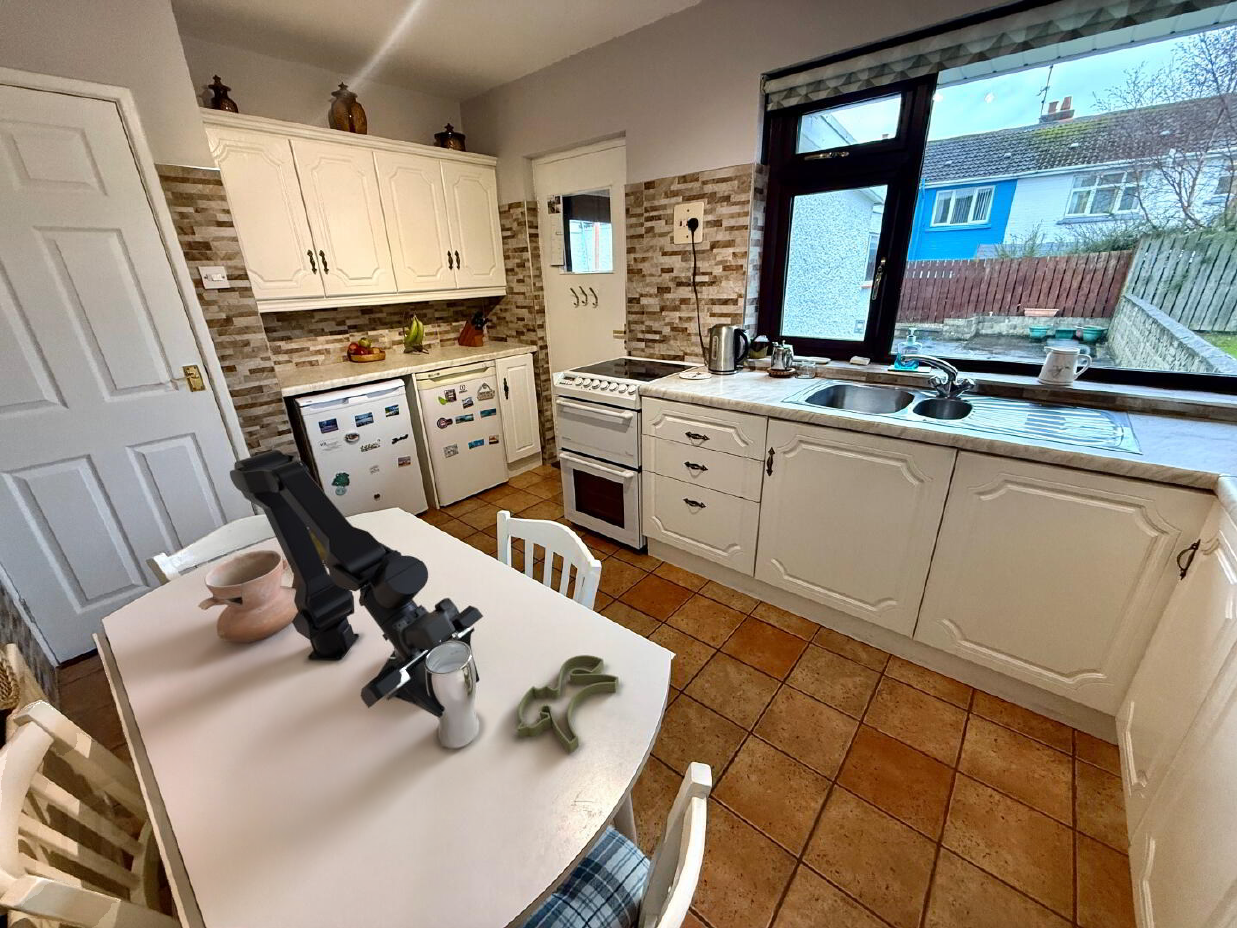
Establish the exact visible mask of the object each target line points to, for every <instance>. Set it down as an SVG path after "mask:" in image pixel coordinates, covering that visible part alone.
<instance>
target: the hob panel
mask: <svg viewBox="0 0 1237 928" xmlns="http://www.w3.org/2000/svg"><path fill="white" fill-rule="evenodd" d="M447 642H448V641H447ZM427 652H428V651H427ZM427 652H426V653H427ZM422 656H423V655H422ZM391 665H393V666H394V667H397V666H398V662H397V658H396V654H395V651H394V650H393V651H392V653H391V654H390V656H388V657H387V660H386V662H385V663H384V665H383V666H382V667H381V669H380V670H379V672H378V674H377V675H376V676H378V675H379V674H380V673H382V672H383V671H384V670H385V669H387V668H388V667H389V666H391ZM408 675H409V676H410V677H411V678H412V677H413V676H414V675H416V676H417V679H418V681H419V684H420V686H421V687H422V688H423V689H424V690H425V692H426V693H427V694H428V692H427V688H426V682H425V669H424V660H423V661H422V662H421V663H420V664H418V665H417V666H416V667H415V668H413V669H412V670H411V671H410V672H408Z"/></svg>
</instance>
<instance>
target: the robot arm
mask: <svg viewBox="0 0 1237 928" xmlns="http://www.w3.org/2000/svg"><path fill="white" fill-rule="evenodd" d="M233 467H234V469H232V470H229V477H230V481H231V482H232V484H233V485H234V487H235V488H236V489H237V490H238V491H239V492H241V494H242V495H243V497H244V498H245V499H246V500H247V501H249V502H251V503H252V504H254V505H256V506H257V507H259V508H261V509H262V510H263V513H264V514H265V516H266V518H267V521H268V523H269V524H270V527H271V529H272V531H273V534H274V536H275V537H276V540H277V542H278V544H279V546H280V548H281V551H282V552H283V555H284V557H285V560H286V559H287V561H288V563H289V565H290V566H289V567H290V569H291V572H292V573H293V577H294V576H295V578H296V580H297V583H298V585H297V589H296V594H295V598H294V602H295V605H296V608H297V610H298V612H297V614H296V615H295V617H294V619H293V621H292V623H291V624H292V625H293V627H294V629H295V631H296V632H297V633H298V634H300V635H301V636H302V637H305V638H306V639H307V640H308V641H309V642H310V645H311V647H312V651H311V652H310V653H309V654H308V655H307V658H308V659H309V660H315V661H337V662H339V661H341V660H342V659H344V658H345V656H346V654H348V652H349V651H350V649H351V648H352V647H353V645H354V644H355V643H356V642H357V641H358V639H359V638H360V634H359V633H354V630H353V626H352V624H350V622H349V619H348V618H349V616H351V615H353V614H355V596H354V594H353V592H355V593H356V592H357V591H359V598H358V602H359V606H360V607H364V608H365V609H366V611H367V613H368V614H369V615H370V616H371V617H372V619H373V620H374V621H375V623H376V624H377V625H378V627H379V628H380V630H381V631H382V632H383V634H382V638H383V639H384V641H386V642H387V641H389V642H390V643H391V644H392V646H393V648H394V647H395V649H396V650H397V651H398V653H399V654H400V655H401V656H400V657H398V658H399V659H400V661H401V662H402V663H401V664H399V665H398V666H397V667H394V666H393V665H391V666H389V667H388V668H387V669H385V670H384V671H383V672H382V673H380V674H379V673H378V674H379V675H378V674H377V675H378V676H377V675H376V676H375V677H374V678H372V679H371V680H369V682H368V683H367V684H365V685H364V686H363V687H362V688H361V690H360V698H361V700H362V701H363V703H364V704H365V706H366V707H367V708H368V709H370V708H371V707H373V706H374V705H375V704H376V703H377V702H380V700H382V699H383V698H384V697H385V696H386V695H388V696H386V697H385V699H386V700H387V701H390V700H391V699H393V698H396V699H399V700H401V701H404V702H406V703H409V704H412V705H414V706H416V707H418V708H420V709H422V710H423V711H426V712H427V713H429V714H431V715H433V716H434V717H436V718H437V719H438V718H439V717H441V716H442V715H443V713H442V712H441V710H440V709H439V707H438V706H437V704H436V703H435V702H434V701H433V700H432V699H431V697H430V696H429V695H428V694H427V693H426V692H425V690H424V689H423V688H422V687H421V686H420V684H419V681H418V679H417V676H416V675H414V676H413V677H412V678H411V677H410V676H409V675H408V672H410V671H411V670H412V669H413V668H415V667H416V666H417V665H418V664H420V663H421V662H422V661H423V660H424V659H425V656H426V655H427V653H428V652H429V651H430V650H431V649H432V648H434V647H435V646H437V645H439V644H441V643H444V642H447V641H461V642H464V643H466V644H467V645H468V646H469V647H470V649H471V653H472V657H473V661H474V666H475V672H476V684H477V683H479V681H480V676H479V673H478V670H477V665H476V662H475V659H474V656H473V651H472V645H471V643H472V634H473V633H474V632H475V627H472V626H473V625H474V624H476V623H477V622H479V620H481V619H482V618H483V617H484V615H483V614H482V613H481V611H480V610H479V608H478V607H475V606H472V605H468V606H467V607H466V608H465V609H464V608H463V610H461V612H460V611H459V609H458V607H457V605H456V604H455V603H454V602H453V600H451V598H450V597H445V598H443V599H441V600H439V602H437V603H436V604H434V609H433V610H432V611H431V612H430V611H428V610H427V608H426V607H424V606H423V605H422V604H420V605H418V604H417V603H416V602H415V600H414V598H415V597H416V596H418V594H419V593H420V592H421V590H423V588H424V587H426V584H427V583H428V580H429V570H428V567H427V566H426V564H425V562H424V561H423V560H420V559H419V558H418V557H415V556H412V555H402V552H401V551H398V550H397V549H393V548H391V547H389V546H387V545H386V544H384V543H382V542H380V541H379V540H377V538H375V536H374V535H372V534H371V533H370V532H369V531H368V530H365V529H362V528H358V527H356V526H354V525H352V523H351V522H350V521H348V519H347V518H346V517H345V515H343V514H342V512H341V511H340V510H339V508H337V506H336V505H335V504H334V503H333V501H332V500H331V499H330V498H329V496H328V495H327V494H326V493H325V491H324V490H323V489H322V488H321V486H320V485H319V484H318V483H317V482H316V481H315V479H314V478H313V476H312V474H311V470H310V469H309V467H308V465H307V463H305V462H304V461H302V460H300V459H299V456H298V454H294V453H287V452H286V453H283V452H282V451H280V450H279V449H273V450H270V451H269V450H268V451H266V452H264V453H260V454H255V455H253V456H250V457H247V458H243V459H240V460H237V461H235V462H234V464H233ZM308 529H309V530H310V531H311V532H312V533H313V535H314V536H315V537H316V538H317V540H318V541H319V542H320V543H321V545H322V546H323V548H324V549H325V561H323V560H322V559H321V557H320V554H319V552H318V550H317V548H316V546H315V543H314V541H313V539H312V537H311V534H310V532H309V530H308ZM324 562H325V564H324ZM327 569H328V570H327ZM470 628H471V629H470ZM418 650H419V652H420V653H421V654H420V655H419V656H417V657H416V658H415V659H413V656H414V655H416V654H415V653H416V652H417V651H418ZM427 651H428V652H427ZM426 652H427V653H426ZM422 655H423V656H422ZM417 659H418V660H417Z"/></svg>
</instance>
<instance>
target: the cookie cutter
mask: <svg viewBox="0 0 1237 928" xmlns="http://www.w3.org/2000/svg"><path fill="white" fill-rule="evenodd" d="M604 665H605V664H604V659H603V658H602V657H598V656H594V655H589V654H581V655H575V656H571V657H569V658H568V659H567V660H565V661H564V662H563V664H562V665H561V667H560V669H559V673H558V684H557V687H556V688H552V687H551V686H550V685H548V684H547V685H544V686H542V687H541V688H540V687H535V686H533V685H532V686H531V688H529V689H528V690H527V692H526V693H525V694H524V695H523V697H522V698H521V701H520V702H519V706H518V719H519V724H518V726H517V735H518V739H523V738H527V737H531V738H535V737H538V736H539V735H541V733H543V731H546V730H548V729H550V728H553V731H554V733H555V735H556V737H557V738H558V740H559V741H560V742H561V744H562V745H563V747H564V748H565V749H566V750H567V751H568V752H569V754H571V753H573V752H574V751H575V750H577V749H578V748H579V747H580V745H579V744H580V743H579V736H578V735H577V734H576V732H575V730H574V728H573V726H572V723H571V717H572V713H573V711H574V709H575V708H576V707H577V705H578V704H579V703H580V702H581V701H583V700H585V699H586V698H588V697H590V696H593V695H597V694H601V693H603V694H604V693H616V692H617V690H618V689H619V687H620V684H619V676H616V675H614V674H613V675H612V674H608V673H607V674H606V673H602V672H603V670H604V668H605V667H604ZM578 666H593V667H594V668H593V669H592V670H590V669H586V668H583V667H578ZM574 667H576V668H574ZM572 668H573V669H572ZM569 670H570V671H569ZM568 671H569V679H570V680H569V681H570V684H573V685H585V684H586V685H587V684H588V685H587V686H585V687H583V688H581V689H579V691H577V692H576V693H575V694H574V695H573V697H572V698H571V700H570V701H569V703H568V706H567V723H568V731H569V735H570V738H571V739H572V740H571V741H570V740H569V739H568V737H566V736H565V734H564V733H563V731H562V730H561V728H560V727H559V726H558V723H557V722H556V720H555V718H554V715H553V710H552V706H551V705H549V704H543V705H540V707H539V709H538V712H539V718H540V719H539V722H537V723H536V724H535V725H529V724H525V721H524V719H523V714H524V711H525V709H526V707H527V706H528V704H529V703H530V702H531V701H532V700H533V699H534V698H535V699H544V698H546V697H547V696H548V697H549V698H551V699H553V700H557V699H559V698H560V696H561V693H562V683H563V680H564V679H563V678H564V676H565V674H566V673H567V672H568Z"/></svg>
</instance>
